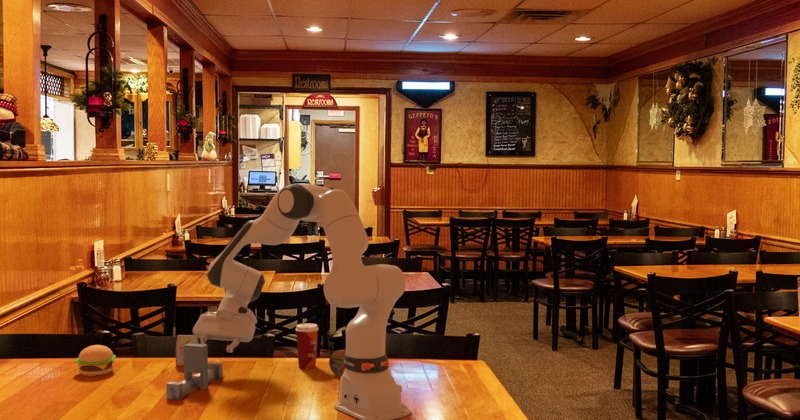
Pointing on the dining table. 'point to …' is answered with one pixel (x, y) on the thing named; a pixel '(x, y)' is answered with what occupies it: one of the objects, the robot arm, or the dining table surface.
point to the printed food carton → (180, 344)
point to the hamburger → (95, 360)
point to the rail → (192, 382)
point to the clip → (196, 362)
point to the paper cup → (307, 345)
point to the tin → (337, 362)
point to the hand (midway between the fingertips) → (215, 350)
